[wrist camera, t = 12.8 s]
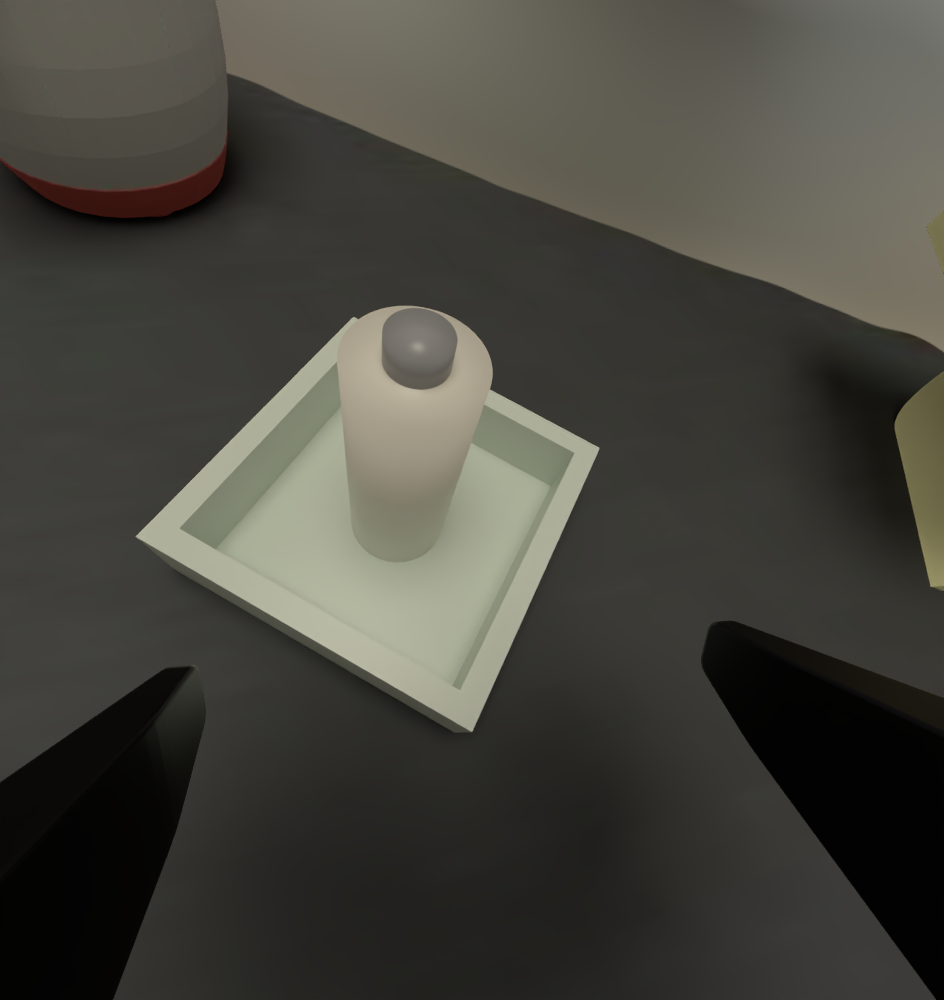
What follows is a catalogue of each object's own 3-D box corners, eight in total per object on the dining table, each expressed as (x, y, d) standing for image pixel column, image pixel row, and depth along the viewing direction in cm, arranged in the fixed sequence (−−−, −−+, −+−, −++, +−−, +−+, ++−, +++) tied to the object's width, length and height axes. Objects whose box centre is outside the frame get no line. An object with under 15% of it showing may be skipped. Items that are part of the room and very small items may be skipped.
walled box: (454, 732, 20) (472, 732, 16) (175, 570, 21) (135, 536, 17) (569, 486, 26) (599, 448, 23) (356, 370, 27) (353, 316, 24)
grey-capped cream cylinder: (378, 578, 21) (386, 426, 11) (335, 502, 23) (304, 300, 12) (458, 536, 23) (531, 369, 13) (414, 467, 24) (447, 263, 14)
